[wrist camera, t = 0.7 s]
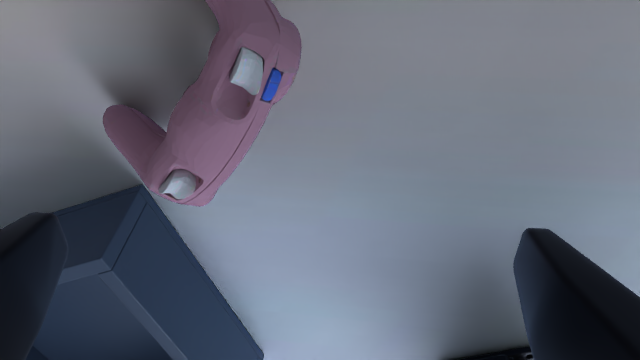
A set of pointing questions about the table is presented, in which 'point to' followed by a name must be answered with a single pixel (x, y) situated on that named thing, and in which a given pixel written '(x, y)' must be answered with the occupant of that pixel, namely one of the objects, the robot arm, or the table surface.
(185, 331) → the open box
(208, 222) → the table surface
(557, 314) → the robot arm
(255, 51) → the video game controller
